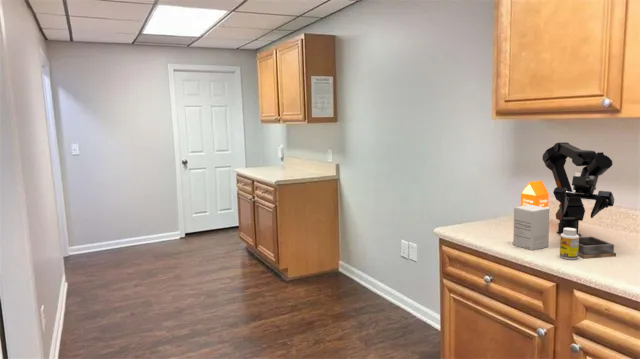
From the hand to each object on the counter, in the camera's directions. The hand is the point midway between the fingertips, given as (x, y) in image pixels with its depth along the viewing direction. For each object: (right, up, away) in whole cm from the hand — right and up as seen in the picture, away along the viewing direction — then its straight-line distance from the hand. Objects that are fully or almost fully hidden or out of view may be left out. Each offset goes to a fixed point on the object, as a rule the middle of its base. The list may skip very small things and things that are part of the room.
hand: (576, 215), depth 158 cm
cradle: (+4, -13, 0) cm, 14 cm away
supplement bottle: (-5, -14, -5) cm, 16 cm away
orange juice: (+5, -8, +41) cm, 42 cm away
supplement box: (-12, -13, +10) cm, 20 cm away
